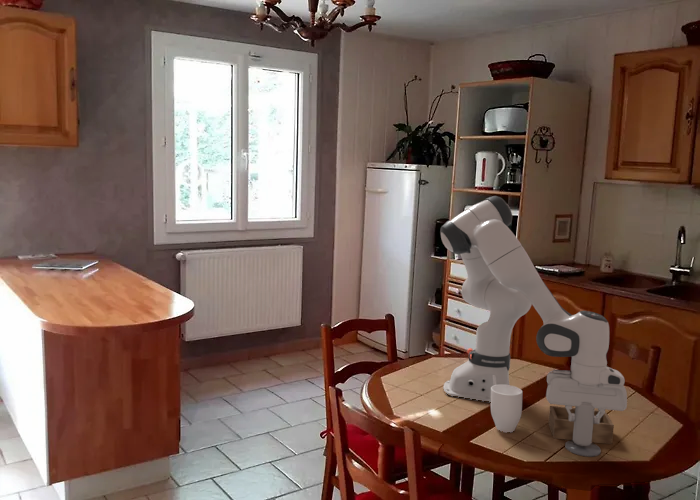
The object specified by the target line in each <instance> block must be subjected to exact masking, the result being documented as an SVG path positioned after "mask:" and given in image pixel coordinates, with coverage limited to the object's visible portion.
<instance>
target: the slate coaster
mask: <svg viewBox="0 0 700 500" xmlns="http://www.w3.org/2000/svg"><path fill="white" fill-rule="evenodd" d="M564 447H565V449H566V450H567V451H569V452H570V453H572V454H574V455H577V456H582V457H591V458H592V457H598V456H600V455H601V451H602V450H601V448H600V447H599V445H597V444H595V443H594V442H591V444H590V445H588V446H581V445H578V444H576V443H574V441H573V440H568V441H566V442H565V446H564Z"/></svg>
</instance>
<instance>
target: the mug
mask: <svg viewBox="0 0 700 500" xmlns="http://www.w3.org/2000/svg"><path fill="white" fill-rule="evenodd" d="M522 411H523V390H522V389H521V388H519V387H517V386H515V385H510V384H509V385H494V386H492V387H491V403H490V414H491V417H492V419H493V422H494V425H495V428H496V429H497V431H499V430H500V431H499V432H502V431H503V432H502V433H507V432H510V433H513V431H515V430H516V428H517V426H518V424H519V423H520V420H521V418H522Z"/></svg>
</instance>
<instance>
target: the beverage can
mask: <svg viewBox="0 0 700 500" xmlns="http://www.w3.org/2000/svg"><path fill="white" fill-rule="evenodd" d="M581 403H582V404H581V405H580V406H579V407H577V406H574V408H575V422H574V429H573V441H574V443H576V444H578V445H581V446H588V445H590V444H591V443H593V442H592V431H593V420H594V410H596V408H593V406H592V405H591V404H592V403H583V402H581Z"/></svg>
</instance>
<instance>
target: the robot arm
mask: <svg viewBox="0 0 700 500" xmlns="http://www.w3.org/2000/svg"><path fill="white" fill-rule="evenodd" d="M512 222H513V213H512V210H511V207H510V206H509V204H508V203H507V202H506V200H504V198H502V197H500V196H497V195H493V196H489V197H487V198H485V199H484V200H482V201H480V202H477V203H475V204H473V205H471V206H470V207H467V208H466V209H465V210H464V211H462V212H461V213H458V214H457V215H456V216H454V217H453V218H452V219H450V220H447V221H446V222H445V223H444V224H443V225H441V227H440V231H439V234H440V238H441V242H442V244H443V245H444V247H445V248H446V249H447V250H448V251H449V252H450V253H452V254H454V255H460V258H461V260H462V262H463V264H464V267H465V270H466V272H467V278H466V279H465V280H464V282H463V283H462V286H461V296H462V299H463V300H464V301H465V302H466V304H467V303H468V304H469V305H470V306H472V307H475V308H478V309H481V310H485V311H489V312H490V313H489V318H488V319H487V321H485V322H483V323H481V324H480V325H479V326H478V327H477V329H476V334H475V335H476V336H475V349H473V348H471V347H470V348H469V347H468V349H467V354H468V360H467V361H465V362H464V363H462V364H461V365H459V366H457V367H455V368H454V369H453V371H452V373H451V376H450V379H449V380H447V381H445V382H444V383H443V388H442V390H443V389H444V391H445V392H446V393H447V394H449V395H451V396H450V397H453V396H458V397H457V398H459V397H464V398H463V399H465V398H470V399H469V400H472V399H476V400H475V401H478V400H482V401H481V402H484V401H489V402H488V403H490V402H491V387H492V386H494V385H510V378H509V377H510V375H509V371H510V367H511V354H510V345H511V337H512V332H513V328H514V326H515V324H516V323H517V321H518V320H519V319H520V318H521V317H522V316H524V315H526V314H527V313H528V312H529V311H530V309H531V307H533V308H534V309H535V311H536V312H537V313H538V315H539V316H540V318H541V320H542V321H543V322H542V323H543V325H542V326H541V327H540V328H539V329H538V331H537V333H536V338H535V339H536V344H537V346H538V348H539V350H540V351H541V352H542V353H543V354H544V355H547V356H549V357H554V358H567V357H568V358H570V357H571V361H570V362H571V365H570V370H564V369H563V370H561V369H553V370H551V371H549V372H547V375H546V382H547V388H546V392H545V398H546V401H547V402H548V404H550V405H556V406H564V407H566V410H567V412H568V414H569V416H568V420H569V421H572V422H575V414H573V413H571V412H570V410H569V409H572V408H573V407H575V406H577V407H579V406H580V405H581V404H582V403H581V402H583V403H592V404H591V405H592V406H593V408H595V409H596V410H599V412H598V414H597V415H596V416H594V420H593V424H599V423H600V418H601V417H602V416H603V415H604V414H605V412H606V410H609V411H617V412H618V411H619V412H623V411H625V410H626V409H627V408H628V406H627V405H628V396H627V395H628V394H627V389H626V387H625V377H624V375H623V374H622V373H621V372H620V371H619V370H617V369H615V368H614V369H613V368H612V367H609V366H608V365H607V364H608V361H607V353H608V351H609V345H610V324H609V321H608V320H607V319H606V317H604V315H602V314H600V313H597V312H594V311H588V310H580V311H578V312H577V313H576V314H571V313H570V312H568V311H567V310H566V309H564V308H563V307H562V306H561V304H560V303H559V301H558V300H557V298H556V297H555V296H554V294H553V293H552V292H551V290H550V288H548V286H547V285H546V283H545V282H544V280H543V279H542V278H541V276H540V274H539V272H538V270H537V268H536V267H535V266H534V263H533V262H532V260H531V258H530V256H529V255H528V253H527V251H526V250H525V248H524V247H523V246H522V243H521V242H520V240H519V239H518V238H517V236H516V235H515V234H514V232H513V231H512V230H511V229H510V228H509V226H510V225H511V224H512ZM444 391H443V392H444ZM447 394H446V395H447Z"/></svg>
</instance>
